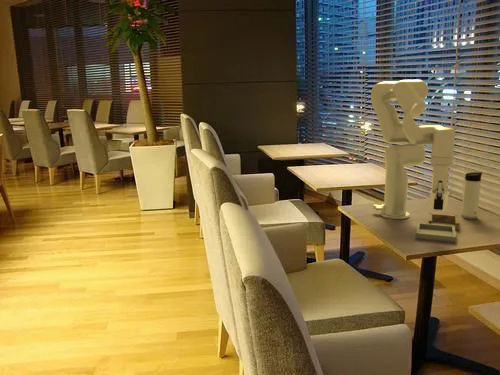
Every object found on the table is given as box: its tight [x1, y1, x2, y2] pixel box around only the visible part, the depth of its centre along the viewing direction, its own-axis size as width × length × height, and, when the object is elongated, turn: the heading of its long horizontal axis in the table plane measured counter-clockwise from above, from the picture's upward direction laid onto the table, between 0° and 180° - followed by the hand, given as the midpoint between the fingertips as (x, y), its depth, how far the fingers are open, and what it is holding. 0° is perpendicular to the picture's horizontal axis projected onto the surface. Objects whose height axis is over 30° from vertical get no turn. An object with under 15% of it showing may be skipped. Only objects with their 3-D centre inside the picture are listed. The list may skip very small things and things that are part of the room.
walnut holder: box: [427, 212, 460, 231], centre depth 198 cm, size 11×12×3 cm
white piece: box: [429, 189, 450, 212], centre depth 182 cm, size 7×7×7 cm
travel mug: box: [461, 171, 483, 220], centre depth 206 cm, size 6×7×20 cm
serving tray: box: [415, 222, 457, 244], centre depth 185 cm, size 14×14×2 cm
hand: (438, 206), depth 182 cm, fingers closed on white piece, 5 cm apart
